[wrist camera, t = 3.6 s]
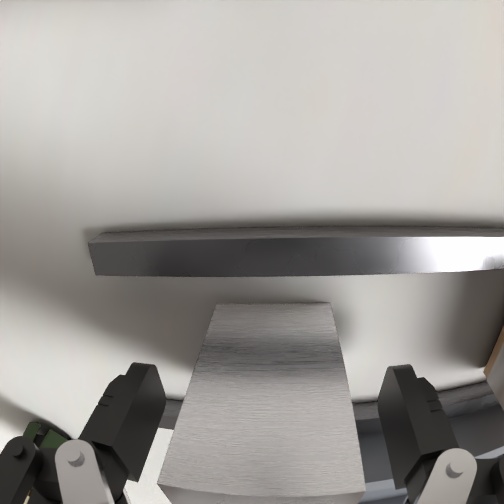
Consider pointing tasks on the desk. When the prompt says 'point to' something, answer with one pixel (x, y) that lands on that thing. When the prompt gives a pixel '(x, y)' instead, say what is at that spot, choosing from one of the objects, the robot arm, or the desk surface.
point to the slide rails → (308, 270)
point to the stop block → (266, 413)
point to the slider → (497, 369)
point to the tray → (467, 436)
